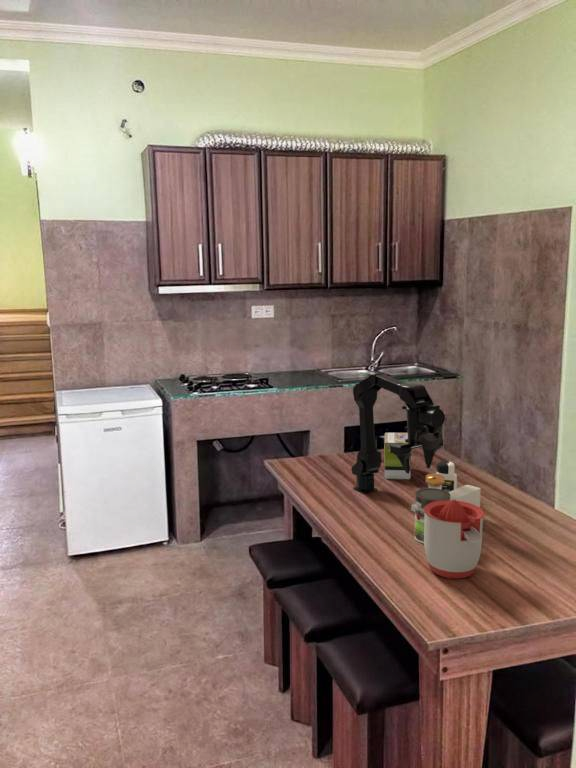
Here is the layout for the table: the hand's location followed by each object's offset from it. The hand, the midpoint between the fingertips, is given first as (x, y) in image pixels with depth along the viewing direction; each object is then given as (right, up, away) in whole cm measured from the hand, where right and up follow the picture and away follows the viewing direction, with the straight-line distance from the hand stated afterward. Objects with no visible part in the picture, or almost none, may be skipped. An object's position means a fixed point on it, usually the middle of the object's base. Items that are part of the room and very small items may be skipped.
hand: (418, 470), depth 220 cm
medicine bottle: (+13, -11, +19) cm, 25 cm away
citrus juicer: (+2, -22, -39) cm, 45 cm away
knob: (+6, -12, +2) cm, 13 cm away
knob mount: (+8, -14, 0) cm, 17 cm away
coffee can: (+1, -18, -18) cm, 25 cm away
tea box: (0, -7, +43) cm, 44 cm away
